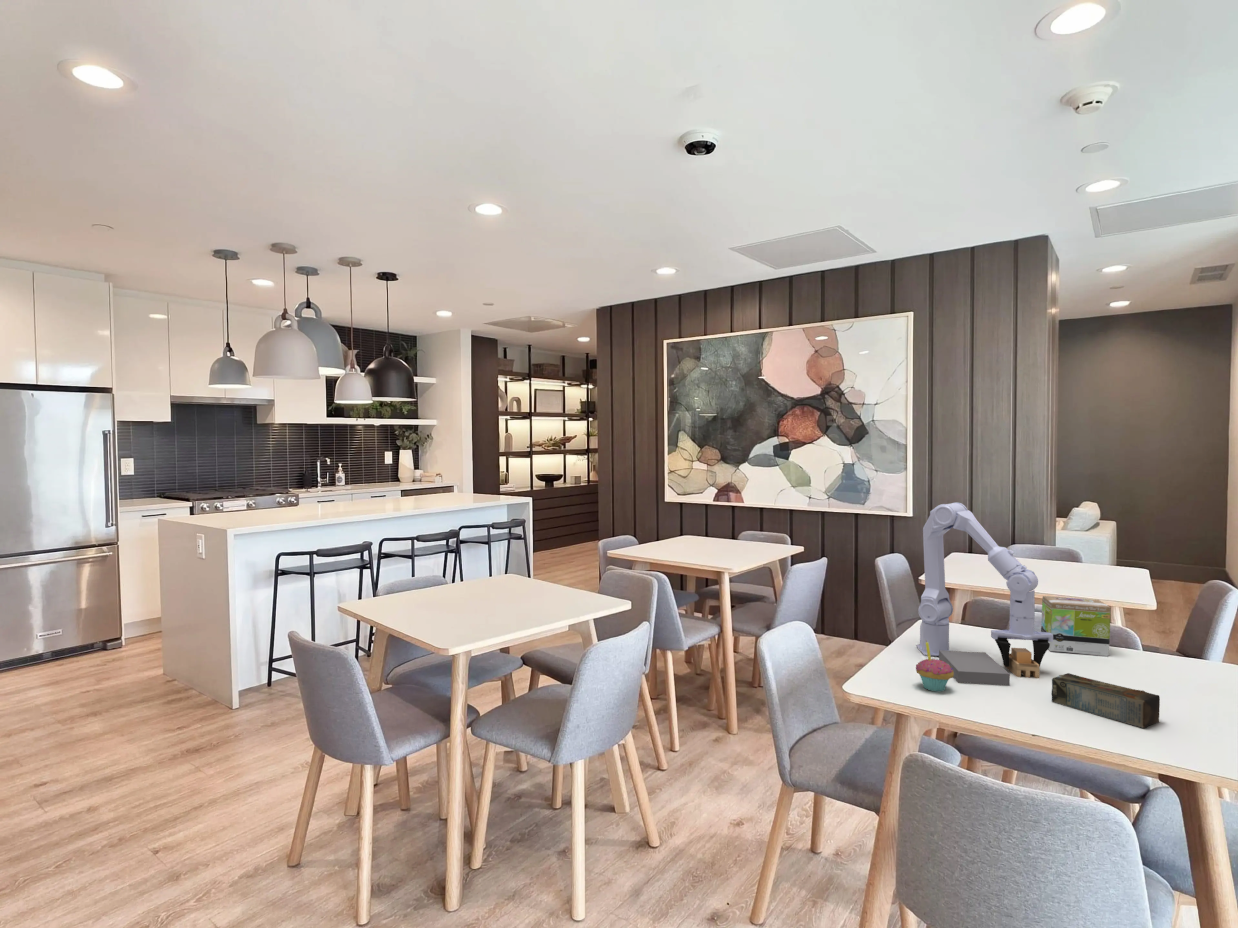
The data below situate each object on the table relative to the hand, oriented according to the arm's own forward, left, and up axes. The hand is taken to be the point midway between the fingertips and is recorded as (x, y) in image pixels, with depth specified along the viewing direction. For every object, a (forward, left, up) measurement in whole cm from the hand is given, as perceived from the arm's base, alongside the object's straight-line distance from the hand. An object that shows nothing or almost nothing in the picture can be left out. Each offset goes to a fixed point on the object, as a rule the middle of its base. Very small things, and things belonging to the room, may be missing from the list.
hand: (1021, 666), depth 184 cm
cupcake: (+17, -26, -2) cm, 31 cm away
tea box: (-24, +23, -2) cm, 33 cm away
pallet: (0, 0, -2) cm, 2 cm away
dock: (+3, -13, -1) cm, 13 cm away
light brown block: (0, 0, +1) cm, 1 cm away
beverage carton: (+26, +8, -2) cm, 27 cm away
